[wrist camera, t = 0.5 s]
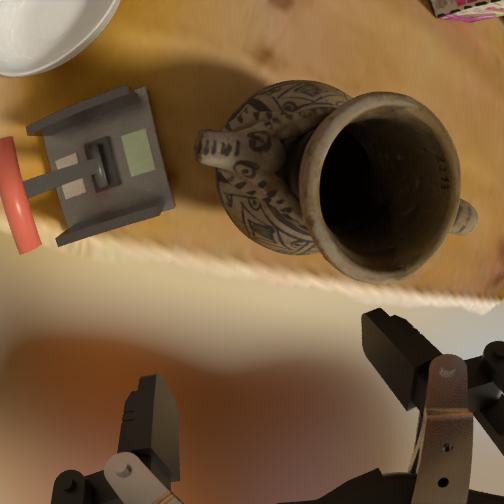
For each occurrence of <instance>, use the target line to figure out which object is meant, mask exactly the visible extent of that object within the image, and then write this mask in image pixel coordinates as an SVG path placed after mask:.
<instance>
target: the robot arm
mask: <svg viewBox="0 0 504 504" xmlns="http://www.w3.org/2000/svg"><path fill="white" fill-rule="evenodd" d="M361 320H362V321H361V322H362V346H363V350H364V353H365V355H366V357H367V358H368V360H369V361H370V362H371V364H372V365H373V366H374V368H375V369H376V370H377V372H378V373H379V374H380V375H381V377H382V378H383V379H384V381H385V382H386V384H387V385H388V386H389V388H390V389H391V390H392V392H393V393H394V394H395V396H396V397H397V398H398V400H399V401H400V402H401V404H402V405H403V407H404V408H405V409H406V411H409V410H411V409H412V408H415V407H417V408H418V409H419V411H420V412H419V417H418V423H417V430H416V436H415V442H414V447H413V453H412V457H411V461H410V464H409V468H408V472H407V473H402V472H396V473H386V474H381V472H380V470H379V468H377V469H375V470H372V471H370V472H368V473H365V474H363V475H361V476H358V477H356V478H353V479H351V480H349V481H347V482H345V483H344V484H342V485H341V486H339V487H337V488H336V489H334V490H333V491H331V492H329V493H328V494H326V495H325V496H323V497H321V498H319V499H317V500H311V501H301V502H288V503H278V504H504V496H499V495H493V494H488V493H484V492H479V491H475V490H470V489H469V483H470V474H471V463H472V448H473V415H474V417H475V418H476V419H477V420H478V422H479V423H480V424H481V426H482V427H483V428H484V430H485V431H486V432H487V434H488V435H489V436H490V438H491V439H492V441H493V442H494V443H495V444H496V446H497V447H498V449H499V450H500V451H501V453H502V454H503V456H504V395H503V394H502V392H503V393H504V342H502V341H494V342H491V343H489V344H488V345H487V346H486V347H485V349H484V352H483V355H482V356H479V357H475V358H471V359H468V360H462V359H461V358H460V357H458V356H456V355H452V354H444V355H443V354H442V353H441V352H440V351H439V350H438V349H437V348H436V347H434V346H433V345H432V344H431V343H430V342H429V341H428V340H427V339H426V338H425V337H424V336H423V335H422V334H420V332H419V331H418V330H417V329H415V328H414V327H413V326H412V325H411V324H410V323H409V322H408V321H407V320H406V319H403V318H401V317H398V316H396V315H393V316H391V317H390V316H389V315H388V314H387V313H386V312H385V311H383V309H381V308H377V309H375V310H372V311H370V312H367V313H364V314H363V315H362V318H361ZM122 421H123V423H122V425H121V431H120V438H119V445H118V452H117V454H116V455H114V456H112V457H111V458H110V459H109V460H108V461H107V463H106V464H105V467H104V470H102V471H99V472H96V473H94V474H91V475H88V476H83V475H82V474H81V473H80V472H78V471H76V470H67V471H64V472H62V473H61V474H60V475H59V476H58V477H57V478H56V480H55V483H54V487H53V493H52V500H51V504H184V503H183V502H182V501H181V500H180V499H179V498H178V497H177V496H176V495H174V493H172V492H171V482H176V481H180V462H179V423H178V422H179V420H178V408H177V404H176V401H175V399H174V398H173V396H172V394H171V392H170V391H169V389H168V387H167V385H166V383H165V381H164V380H163V378H162V376H161V375H160V374H159V373H157V374H152V375H147V376H142V377H140V379H139V385H138V391H132V392H131V393H130V395H129V397H128V398H127V400H126V401H125V407H124V414H123V418H122Z"/></svg>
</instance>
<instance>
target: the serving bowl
mask: <svg viewBox="0 0 504 504" xmlns="http://www.w3.org/2000/svg"><path fill="white" fill-rule="evenodd" d="M120 1H121V0H0V75H2V76H6V77H26V76H33V75H37V74H41V73H44V72H47V71H50V70H52V69H54V68H56V67H58V66H60V65H62V64H64V63H66V62H67V61H69V60H71V59H72V58H74V57H75V56H76V55H78V54H79V53H80V52H82V51H83V50H84V49H85V48H86V47H88V46H89V45H90V44H91V43H92V42H93V41H94V40H95V39H96V38H97V37H98V36H99V35H100V33H101V32H102V31H103V30H104V28H105V27H106V26H107V25H108V23H109V22H110V20H111V19H112V17H113V15H114V14H115V12H116V10H117V8H118V6H119V3H120Z"/></svg>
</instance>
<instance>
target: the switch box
mask: <svg viewBox="0 0 504 504" xmlns="http://www.w3.org/2000/svg"><path fill="white" fill-rule="evenodd" d="M26 131H27V136H43V137H44V142H45V146H46V151H47V155H48V160H49V164H50V168H51V172H52V171H55V170H58V169H61V168H64V167H68V166H71V165H74V164H77V163H81V162H84V161H88V160H91V159H90V155H89V151H88V145H90V144H93V143H98V147H99V151H100V155H101V159H102V163H103V167H104V171H105V175H106V179H107V182H108V185H107V186H104V187H102V188H98V185H97V182H96V178H95V174H93V175H90V176H87V177H84V178H81V179H79V180H76V181H73V182H70V183H67V184H65V185H62V186H59V187H57V188H56V191H57V194H58V198H59V201H60V204H61V208H62V211H63V214H64V217H65V220H66V223H67V227H68V229H67V230H66V231H65V232H63V233H62V234H60V235H59V236H58V237H56V238H55V239H56V242H57V245H58V247H60V246H63V245H66V244H69V243H72V242H75V241H78V240H81V239H84V238H87V237H90V236H93V235H97V234H100V233H103V232H106V231H109V230H113V229H116V228H119V227H122V226H126V225H129V224H132V223H136V222H139V221H143V220H146V219H149V218H153V217H156V216H160V214H161V212H163V211H166V210H170V209H174V208H175V206H176V204H175V200H174V196H173V192H172V189H171V185H170V181H169V177H168V173H167V169H166V165H165V161H164V157H163V153H162V149H161V145H160V141H159V137H158V132H157V128H156V124H155V119H154V115H153V110H152V106H151V101H150V97H149V92H148V89H147V88H146V86H145V87H142V88H138V89H135V90H133V89H132V88H131V87H130V86H129V85H125V86H122V87H119V88H116V89H113V90H110V91H108V92H105V93H102V94H99V95H97V96H94V97H91V98H89V99H86V100H84V101H81V102H79V103H77V104H74V105H72V106H69V107H67V108H65V109H63V110H60V111H58V112H56V113H54V114H52V115H49V116H47V117H45V118H43V119H41V120H39V121H37V122H35V123H33V124H31V125H29V126H27V127H26Z"/></svg>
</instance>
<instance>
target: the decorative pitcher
mask: <svg viewBox="0 0 504 504" xmlns="http://www.w3.org/2000/svg"><path fill="white" fill-rule="evenodd" d="M194 150H195V157H196V160H197V161H198V162H199V163H201V164H203V165H207V166H213V167H215V179H216V185H217V190H218V193H219V196H220V199H221V201H222V204H223V206H224V208H225V210H226V212H227V214H228V216H229V217H230V219H231V220H232V222H233V223H234V224H235V225H236V226H237V228H238V229H239V230H240V231H241V232H242V233H243V234H244V235H246V236H247V237H248V238H250V239H251V240H253V241H254V242H256V243H258V244H259V245H261V246H263V247H265V248H268V249H270V250H273V251H275V252H279V253H282V254H288V255H309V254H315V253H321V254H322V255H323V257H324V258H325V259H326V260H327V261H328V262H329V263H330V264H331V265H332V266H334V267H335V268H336V269H337V270H339V271H340V272H341V273H343V274H345V275H346V276H348V277H350V278H353V279H356V280H358V281H362V282H366V283H371V284H389V283H395V282H400V281H403V280H406V279H408V278H410V277H412V276H413V275H415V274H416V273H417V272H418V271H419V270H421V269H422V268H423V267H424V266H425V265H426V264H427V263H428V262H429V261H430V260H431V259H432V258H433V256H434V255H435V254H436V253H437V251H438V250H439V249H440V247H441V246H442V244H443V243H444V241H445V240H446V238H447V236H448V235H449V233H452V234H456V235H460V236H465V235H469V234H471V233H472V232H473V231H474V230H475V229H476V227H477V224H478V214H477V212H476V210H475V209H474V207H473V206H472V205H471V204H470V203H468V202H466V201H464V200H462V199H460V194H461V170H460V162H459V158H458V154H457V151H456V148H455V146H454V143H453V141H452V139H451V137H450V135H449V133H448V132H447V130H446V128H445V127H444V125H443V124H442V123H441V121H440V120H439V119H438V118H437V117H436V115H435V114H434V113H433V112H432V111H430V110H429V109H428V108H427V107H426V106H424V105H423V104H421V103H420V102H418V101H417V100H415V99H413V98H412V97H409V96H406V95H403V94H399V93H393V92H371V93H366V94H362V95H359V96H357V97H355V98H352V97H351V96H349V95H348V94H346V93H345V92H343V91H341V90H339V89H337V88H335V87H333V86H330V85H328V84H324V83H321V82H316V81H307V80H291V81H284V82H280V83H276V84H273V85H270V86H268V87H265V88H263V89H261V90H259V91H258V92H256V93H255V94H253V95H252V96H250V97H249V98H248V99H247V100H246V101H244V102H243V103H242V104H241V105H240V106H239V107H238V108H237V109H236V111H235V112H234V113H233V114H232V115H231V117H230V118H229V120H228V122H227V123H226V125H225V127H224V128H223V129H222V131H215V130H211V129H205V130H200V131H199V135H198V137H197V139H196V142H195V146H194Z"/></svg>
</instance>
